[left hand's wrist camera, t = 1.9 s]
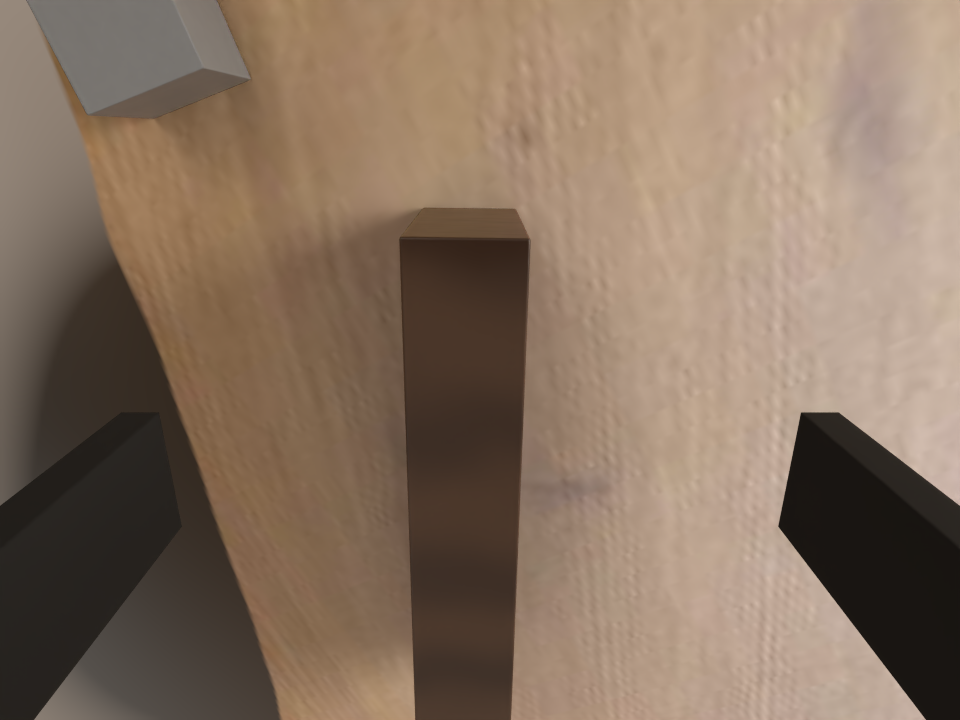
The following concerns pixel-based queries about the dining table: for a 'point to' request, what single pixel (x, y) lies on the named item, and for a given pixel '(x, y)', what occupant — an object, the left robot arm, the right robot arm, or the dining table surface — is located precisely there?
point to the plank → (464, 452)
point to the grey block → (141, 53)
